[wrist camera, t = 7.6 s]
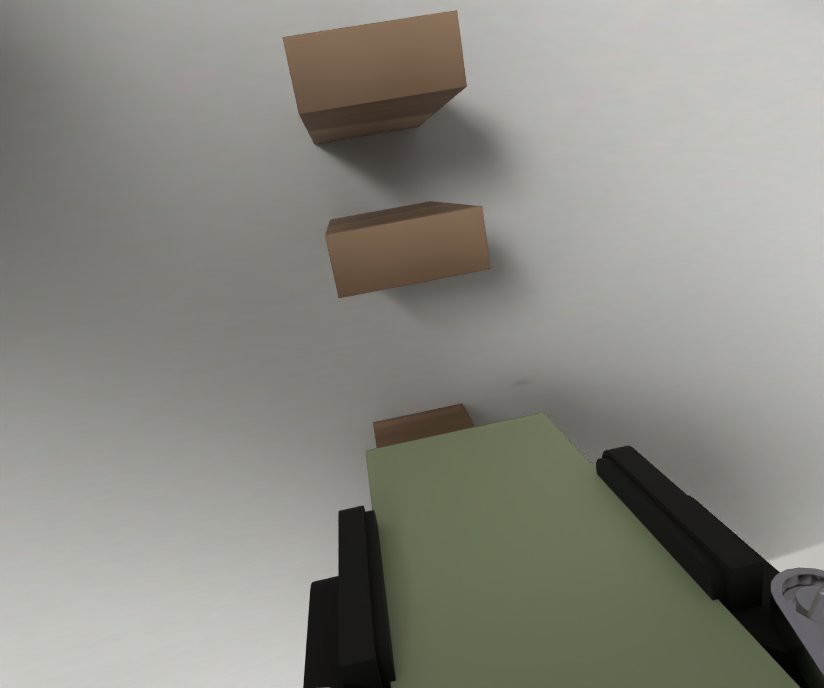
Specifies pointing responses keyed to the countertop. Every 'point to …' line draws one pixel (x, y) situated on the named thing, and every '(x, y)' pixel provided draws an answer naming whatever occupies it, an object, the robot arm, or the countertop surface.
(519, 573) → the olive domino
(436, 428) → the domino
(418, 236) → the domino
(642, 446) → the countertop surface
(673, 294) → the countertop surface
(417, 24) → the domino
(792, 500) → the countertop surface
